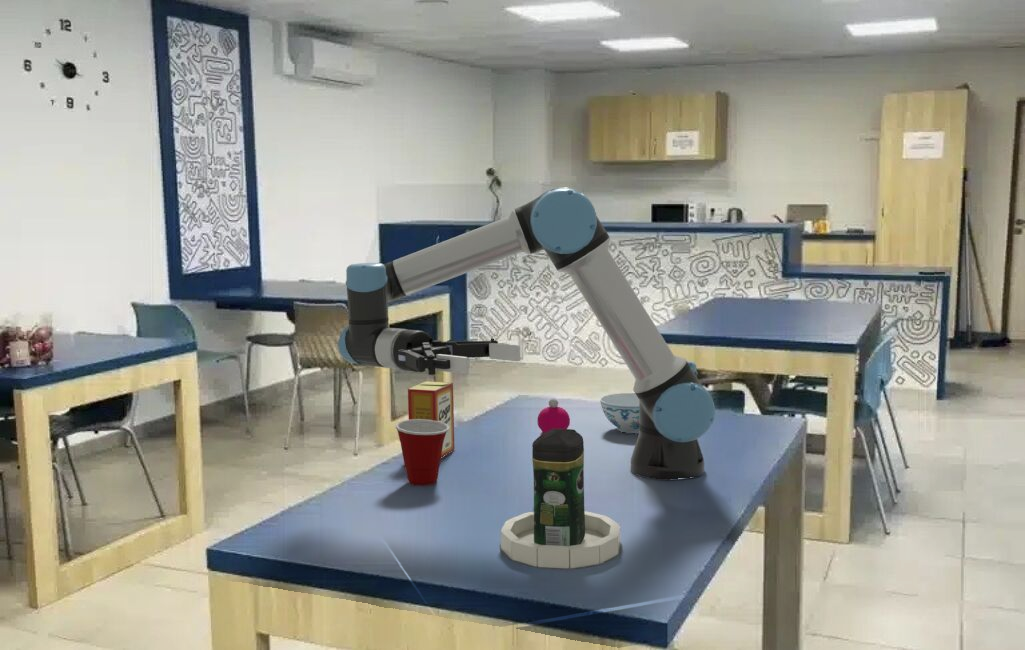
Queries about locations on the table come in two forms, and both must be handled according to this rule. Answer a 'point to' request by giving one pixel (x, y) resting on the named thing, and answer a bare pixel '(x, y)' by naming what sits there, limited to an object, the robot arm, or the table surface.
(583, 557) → the bowl
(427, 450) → the plastic cup
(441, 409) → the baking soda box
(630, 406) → the chinaware
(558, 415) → the pepper mill
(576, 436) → the coffee jar
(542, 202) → the robot arm
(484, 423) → the table surface
